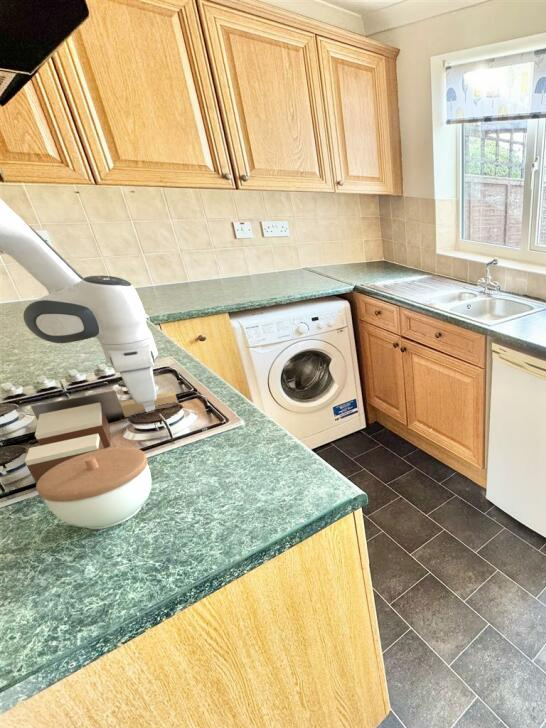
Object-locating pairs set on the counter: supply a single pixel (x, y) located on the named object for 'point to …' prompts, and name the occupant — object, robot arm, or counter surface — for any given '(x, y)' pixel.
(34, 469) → the cake slice
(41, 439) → the cake
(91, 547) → the counter surface
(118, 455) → the lidded bowl
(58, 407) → the cleaver
